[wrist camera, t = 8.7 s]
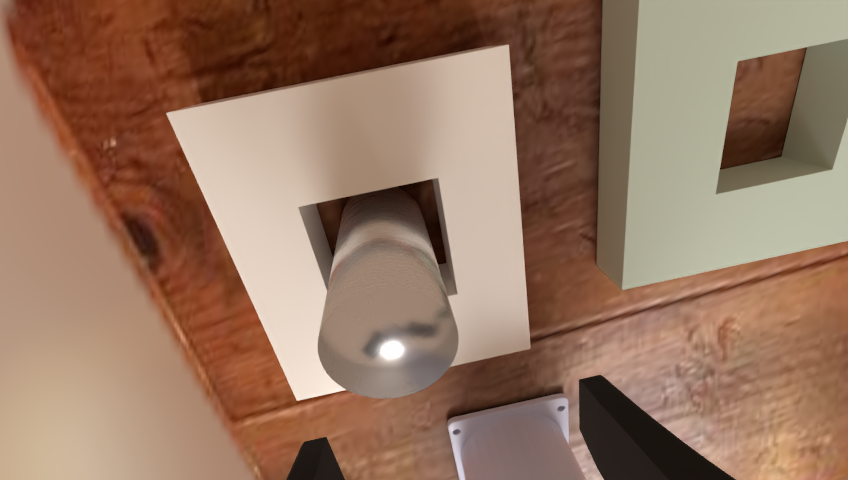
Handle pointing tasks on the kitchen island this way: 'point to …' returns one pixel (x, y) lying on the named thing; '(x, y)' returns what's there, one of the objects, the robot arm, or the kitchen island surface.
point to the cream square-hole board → (365, 172)
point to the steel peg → (385, 301)
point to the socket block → (715, 137)
